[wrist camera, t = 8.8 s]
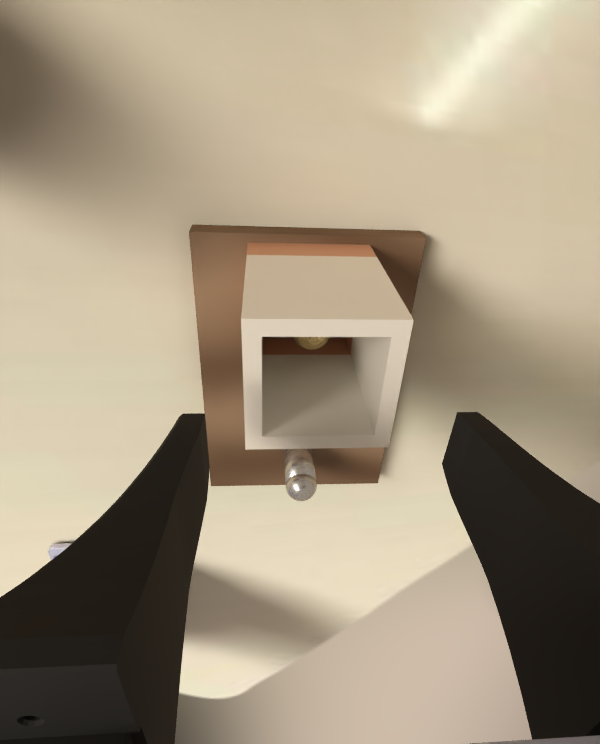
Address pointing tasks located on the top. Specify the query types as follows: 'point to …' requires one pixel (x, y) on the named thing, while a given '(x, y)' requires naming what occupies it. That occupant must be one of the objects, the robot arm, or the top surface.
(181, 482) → the robot arm
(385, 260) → the board
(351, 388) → the sleeve
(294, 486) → the steel pin
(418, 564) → the top surface
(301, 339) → the brass pin
